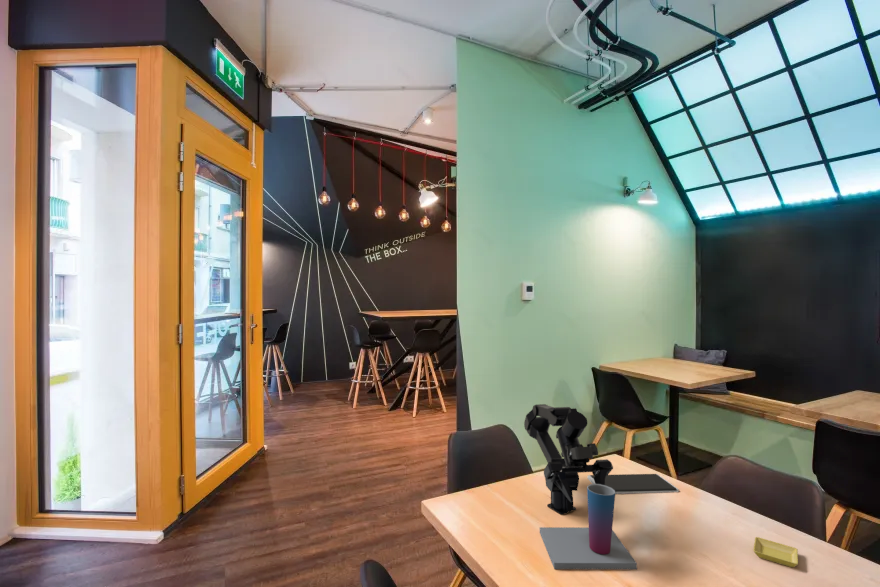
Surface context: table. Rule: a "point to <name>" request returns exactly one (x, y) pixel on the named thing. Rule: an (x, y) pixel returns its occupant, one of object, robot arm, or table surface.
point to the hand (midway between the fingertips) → (587, 500)
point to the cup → (600, 517)
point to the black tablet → (637, 483)
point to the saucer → (776, 552)
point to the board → (583, 550)
